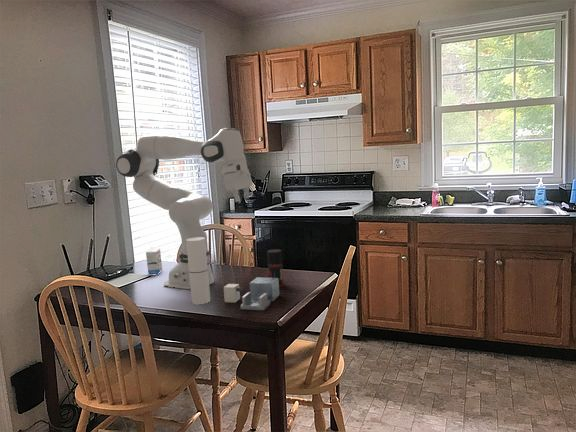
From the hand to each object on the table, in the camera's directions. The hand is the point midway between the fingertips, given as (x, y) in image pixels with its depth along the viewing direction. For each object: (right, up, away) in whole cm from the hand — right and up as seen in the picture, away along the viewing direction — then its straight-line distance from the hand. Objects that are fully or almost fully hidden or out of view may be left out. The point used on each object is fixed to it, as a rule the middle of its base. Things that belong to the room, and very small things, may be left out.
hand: (242, 199), depth 197 cm
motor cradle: (+9, -39, -16) cm, 43 cm away
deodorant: (+14, -36, +4) cm, 39 cm away
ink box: (-47, -35, +39) cm, 71 cm away
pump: (-3, -40, -13) cm, 42 cm away
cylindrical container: (-15, -40, -12) cm, 45 cm away
